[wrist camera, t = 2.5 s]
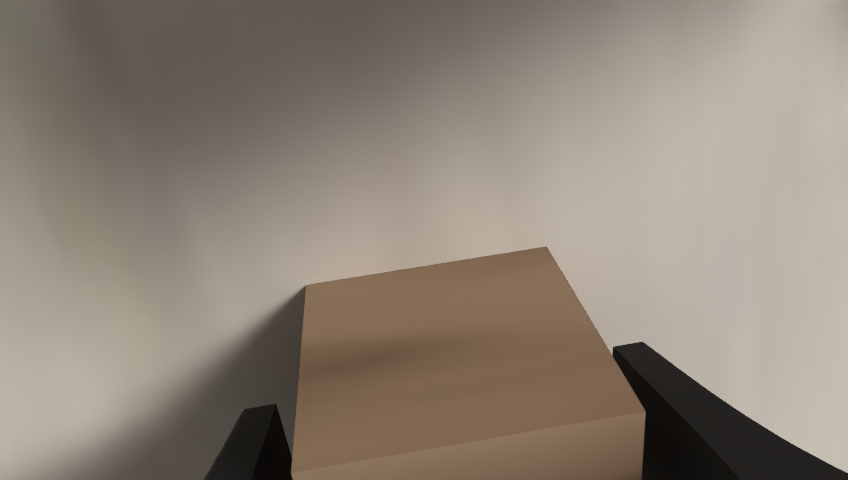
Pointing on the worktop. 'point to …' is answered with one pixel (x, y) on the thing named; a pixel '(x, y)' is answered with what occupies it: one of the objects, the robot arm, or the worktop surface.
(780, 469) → the robot arm
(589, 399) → the walnut block
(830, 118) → the worktop surface
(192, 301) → the worktop surface
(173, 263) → the worktop surface
